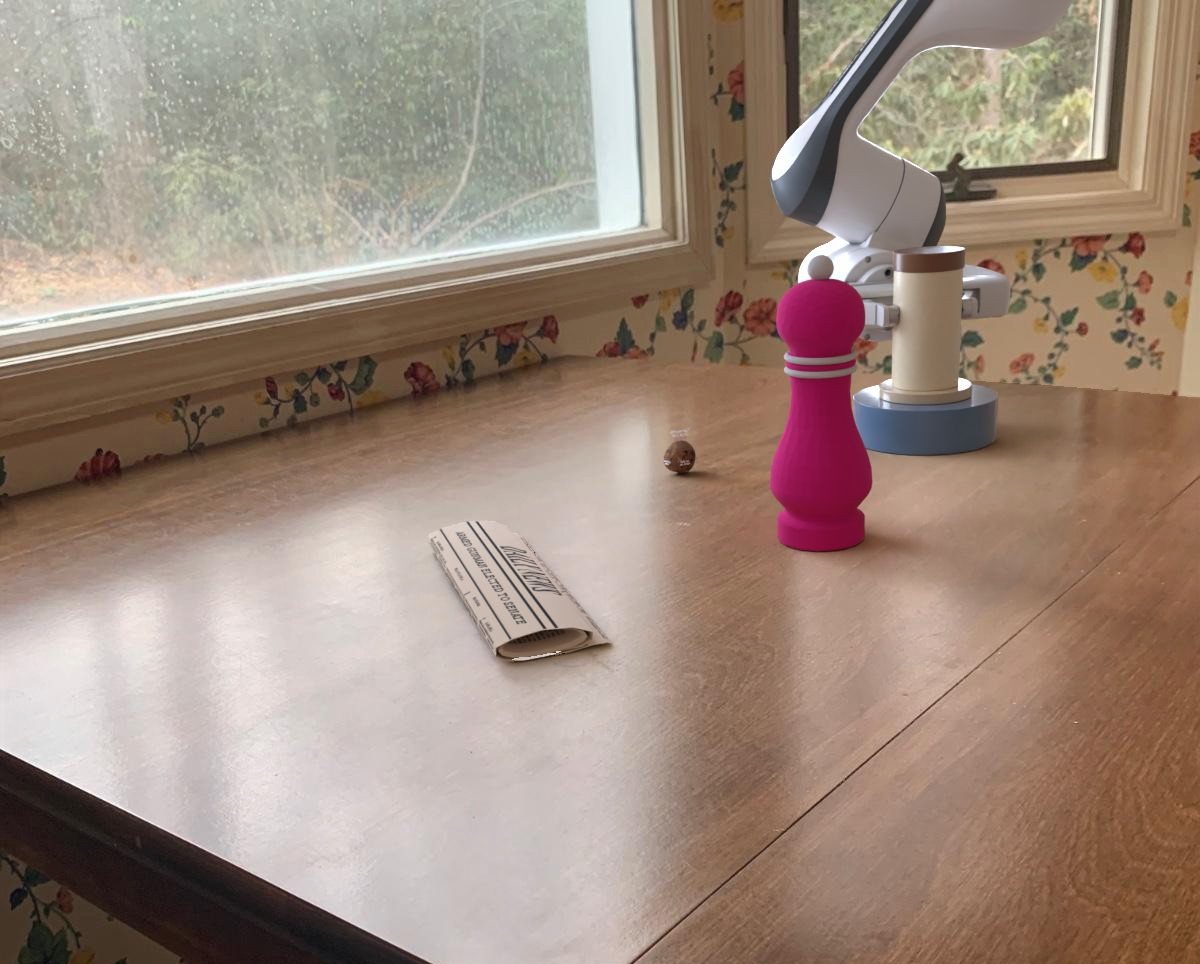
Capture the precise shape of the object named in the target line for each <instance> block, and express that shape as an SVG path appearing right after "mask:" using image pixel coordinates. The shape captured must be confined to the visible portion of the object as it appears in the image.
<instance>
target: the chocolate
mask: <svg viewBox="0 0 1200 964" xmlns="http://www.w3.org/2000/svg"><path fill="white" fill-rule="evenodd" d="M690 431H691V429H690V427H687V428H686V429H682V430H680V429H678V430H673V429H672V430H670V431H669V435H672V436H673V438H674V442H672V443H671V444H670V445H669V446H668V448H667V449H666V450H665V453H664V455H663V460H662V461H663V465H664V467H665V468H666V469H668V470H669V471H670V472H674V473H678V474H682V473H683V474H684V473H687V472H690V471H691V470H692V469H693V468H694V465H695V463H696V462H697V463H699V457H698V456H696V451H695V448H694V447H693V445H692V444H691V443H690V442H689V441H687V440H686V438H687V437H688V433H689V432H690Z"/></svg>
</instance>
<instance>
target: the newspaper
mask: <svg viewBox="0 0 1200 964" xmlns="http://www.w3.org/2000/svg"><path fill="white" fill-rule="evenodd" d="M519 534H520V533H517V532H514V533H512V531H511V530H510V528H508V526H507V525H506V524H504V523H501V522H497V521H494V520H490V519H488V520H487V519H486V520H485V519H484V520H468V521H466V520H465V521H461V522H459V523H458V522H457V523H454V524H450V525H447V526H443V527H441V528H439V529H436V530H435V531H433V532H430V533H429V534H428V535H427V539H428V540H427V542H428V544H429V546H430V548H431V550H432V551H433V553H434V554H435V556H436V558H437V560H438V561H439V563H440V565H441V567H442V568H443V570H444V572H445V573H446V575H447V577H448V578H449V580H450V582H451V583H452V585H453V587H454V588H455V590H456V592H457V594H458V596H459V597H460V599H461V601H462V602H463V604H464V605H465V607H466V610H467V611H468V612H469V615H470V616H471V617H472V619H473V621H474V623H475V625H476V626H477V628H478V629H479V632H480V633H481V634H482V636H483V638H484V640H485V642H486V643H487V645H488V647H489V648H490V650H491V652H492V654H493V655H494V658H496V659H499V660H501V661H504V662H514V661H515V660H512V659H514V658H519V657H531V656H537V655H543V654H547V653H556V651H561V652H559V653H556V654H554V655H555V656H559V654H560V655H563V654H562V653H565V654H568V653H572V652H575V651H579V650H582V649H585V648H588V647H591V646H596V645H603V644H610V645H612V644H613V642H611V640H610V639H609V638H608V637H607V636H606V635H605V633H604V631H602V630H601V628H600V627H599V626H598V625H597V624H596V623H595V621H593V619H592V618H591V617H590V616H589V615H588V613H587V612H586V610H585V609H584V608H583V607H582V606H581V605H580V604H579V603H578V601H577V600H576V599H575V598H574V597H573V595H572V594H571V593H570V592H569V591H568V590H567V588H566V587H565V586H564V585H563V583H562V582H561V581H560V579H558V577H556V575H555V574H554V573H553V571H552V570H551V569H550V568H549V567H548V566H547V565H546V563H545V562H544V561H543V559H541V557H540V556H539V555H538V554H537V553H536V552H535V551H533V550H534V549H533V550H531V549H530V547H531V546H530V545H529V544H528V545H529V546H530V547H529V546H528V545H527V544H526V542H527V541H526V540H525V539H524V538H523V539H522V538H521V536H522V535H521V536H519ZM524 540H525V541H526V542H525V541H524ZM534 552H535V553H536V554H537V555H538V556H537V555H536V554H535V553H534ZM549 569H550V570H549Z"/></svg>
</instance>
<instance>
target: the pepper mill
mask: <svg viewBox="0 0 1200 964" xmlns="http://www.w3.org/2000/svg"><path fill="white" fill-rule="evenodd" d="M833 271H834V265H833V262H832V260H831V259H830V258H829V257H828V256H826V255H817V256H815V257H813V258H812V259H811V260H810V261H809V263H808V266H807V272H808V275H809V276H810V278H811V279H809V280H806V281H803V282H800V283H798V282H797V283H796V284H795V285H793V286H792V287H790V288H789V289H788V290H787V291H786V292H785V293H784V294H783V295H782V297H781V300H780V301H779V303H778V306H777V310H776V317H775V318H776V319H775V321H776V322H775V324H776V331H777V333H778V335H779V337H780V339H781V340H782V341H783V342H784V343H785V344H786V345H787V347H788V351H786V352H785V353H784V354H783V359H784V360H785V366H784V368H783V371H784V373H785V375H786V376H789V381H790V402H789V403H790V404H789V411H788V415H787V416H788V417H787V419H786V420H787V421H786V424H785V427H784V430H783V432H782V435H781V438H780V440H779V443H778V445H777V448H776V450H775V452H774V455H773V459H772V463H771V467H770V479H769V489H770V491H771V495H773V498H775V499H776V501H777V502H778V503H779V504H780V505H781V506H782V507H783V508H784V509H782V510H781V511H780V512H779V513H778V515H777V518H776V520H777V523H776V524H777V525H776V526H777V539H778V541H779V542H780V543H781V544H783V545H784V546H786V547H788V548H792V549H796V550H800V551H808V552H809V551H810V552H830V551H839V550H844V549H845V550H846V549H849V548H851V547H854V546H857V545H859V544H860V543H862V542H863V540H864V539H865V535H866V516H865V515H866V514H865V513H864V511H863V510H861V509H859V508H858V507H859V506H860V505H861V504H862V503H863V502H864V500H866V498H867V497H868V496H869V494H870V492H871V491H872V488H873V470H872V469H873V468H872V464H871V461H870V456H869V452H868V451H867V448H865V445H864V443H863V441H862V438H861V436H860V434H859V431H858V429H857V426H856V423H855V420H854V416H853V405H852V395H851V389H852V388H851V387H852V386H851V385H852V376H853V375H852V374H854V373H856V372H857V370H858V367H859V366H858V365H857V357H858V356H859V354H858V351H857V350H856V349H855V348H853V346H854V344H855V343H856V342H857V340H858V339H859V336H860V335H861V333H862V332H863V329H864V326H865V307H864V303H863V300H862V297H861V296H860V294H859V293H858V291H857V290H856V289H855V288H854V287H852V286H851V285H849V284H848V283H846V282H844V281H841V280H837V279H831V278H830V277H831V275H832V274H833Z"/></svg>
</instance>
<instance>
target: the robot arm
mask: <svg viewBox="0 0 1200 964" xmlns="http://www.w3.org/2000/svg"><path fill="white" fill-rule="evenodd" d="M1074 1H1075V0H896V2H894V4H893V5H892V6H891V7H890V9H889V10H888V11H887V13H885V15H884V17H883V18H882V19H881V21H880V22H879V23H878V24H877V26H876V27H875V28H874V29H873V31H872V32H871V33H870V34H869V36H868V38H867V39H866V40H865V42H864V43H863V44H862V46H861V47H860V48H859V50H858V51H857V52H856V54H855V55H854V56H853V58H852V59H851V60H850V62H849V63H848V64H847V66H846V68H844V70H843V71H842V73H841V74H840V76H839V77H838V78H837V79H836V81H835V82H834V83H833V85H832V86H831V87H830V89H829V90H828V92H827V93H826V94H825V95H824V97H823V98H822V100H821V101H820V102H819V103H818V104H817V106H816V107H815V108H814V109H813V110H812V111H811V112H810V114H809V115H808V116H807V117H806V118H805V119H804V120H803V122H802V123H801V124H800V125H799V126H798V128H796V130H795V131H794V132H793V134H792V135H791V136H790V137H789V138H788V139H787V140H786V142H785V143H784V145H783V146H782V148H781V149H780V151H779V152H778V154H777V156H776V159H775V161H774V162H773V163H774V164H773V166H772V168H771V172H770V176H769V181H770V186H771V190H772V194H773V196H774V199H775V202H776V205H777V207H778V208H779V210H780V212H781V213H782V215H783V216H784V217H787V218H790V219H792V220H795V221H798V222H801V223H803V224H806V225H808V226H811V227H817V229H818V228H819V229H820V230H823V231H824V232H826V233H828V234H830V235H832V236H834V237H835V238H834V239H832V240H830V241H829V242H828V243H825V244H823V245H820V246H818V247H816V248H815V249H813V250H812V251H810V252H809V253H808V254H807V255H806V256H805V258H804V259H803V261H802V262H801V264H800V267H799V269H798V275H797V284H798V283H800V282H803V281H806V280H809V279H811V278H810V276H809V275H808V272H807V266H808V263H809V261H810V260H811V259H812V258H813V257H815V256H817V255H826V256H828V257H829V258H830V259H831V260H832V262H833V265H834V271H833V274H832V275H831V277H830V278H831V279H837V280H841V281H844V282H846V283H848V284H849V285H851V286H852V287H854V288H855V289H856V290H857V291H858V293H859V294H860V296H861V297H862V300H863V303H864V307H865V326H864V329H863V332H862V333H861V335H860V336H859V337H858V339H862V340H864V341H868V342H872V343H884V342H888V341H891V340H892V334H893V326H895V325H898V324H899V317H898V315H899V306H898V305H895V304H893V285H894V270H893V251H895V250H899V249H904V248H913V247H927V246H938V244H939V242H940V240H941V237H942V235H943V232H944V230H945V227H946V222H947V203H946V193H945V189H944V186H943V184H942V181H941V179H940V178H939V177H938V176H936V175H934V174H933V173H931V172H929V171H928V170H925V169H924V168H921V167H920V166H918V165H917V164H914V163H913V162H911V161H909V160H907V159H906V158H903V157H900V156H898V155H895V154H893V153H892V152H890V151H888V150H887V149H885V148H883V147H880V146H879V145H877V144H875V143H873V142H871V141H869V140H868V139H866V138H864V137H862V136H861V135H860V134H859V132H858V131H859V127H860V126H861V124H862V123H863V122H864V120H865V119H866V118H867V116H868V115H869V114H870V112H871V111H872V110H873V109H874V107H875V106H876V105H877V103H878V102H879V101H880V99H882V97H883V95H884V94H885V93H886V91H888V89H889V87H890V86H891V85H892V84H893V83H894V81H896V78H897V77H898V76H899V74H900V73H901V72H902V71H903V69H904V68H905V67H906V65H907V64H908V63H910V61H912V59H914V58H915V57H916V56H918V55H920V54H921V53H923V52H925V51H928V50H931V49H936V48H941V47H960V48H970V49H979V50H980V49H981V50H994V51H995V50H998V51H1000V50H1011V49H1015V48H1020V47H1024V46H1027V45H1029V44H1032V43H1034V42H1037V41H1038V40H1040V39H1041V38H1043V37H1045V36H1046V35H1047V34H1049V33H1051V32H1052V30H1053V29H1054V28H1055V27H1056V26H1057V25H1058V24H1059V22H1060V21H1061V20H1062V18H1063V17H1064V16H1065V14H1066V13H1067V12H1068V10H1069V8H1071V5H1072V4H1073V2H1074ZM1010 303H1011V281H1010V279H1009V277H1008V276H1007V275H1005V274H1003V273H1001V272H998V271H995V270H992V269H989V268H985V267H983V266H977V265H973V264H972V265H971V264H965V267H964V268H963V292H962V316H961V321H971V320H980V319H992V318H994V319H995V318H1002V317H1005V316H1006V315H1007V314H1008V313H1009V309H1010Z"/></svg>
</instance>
